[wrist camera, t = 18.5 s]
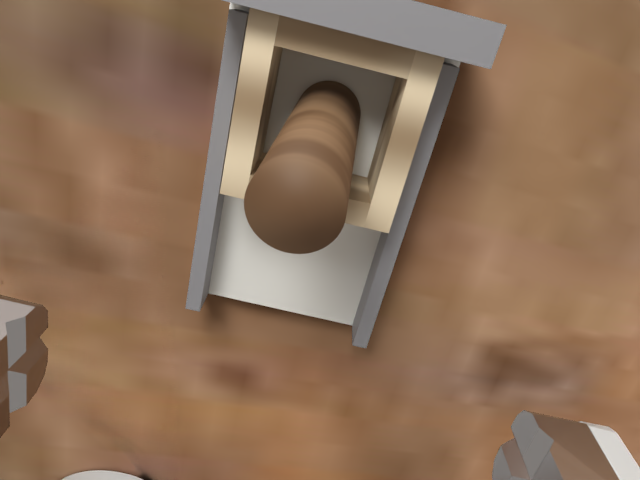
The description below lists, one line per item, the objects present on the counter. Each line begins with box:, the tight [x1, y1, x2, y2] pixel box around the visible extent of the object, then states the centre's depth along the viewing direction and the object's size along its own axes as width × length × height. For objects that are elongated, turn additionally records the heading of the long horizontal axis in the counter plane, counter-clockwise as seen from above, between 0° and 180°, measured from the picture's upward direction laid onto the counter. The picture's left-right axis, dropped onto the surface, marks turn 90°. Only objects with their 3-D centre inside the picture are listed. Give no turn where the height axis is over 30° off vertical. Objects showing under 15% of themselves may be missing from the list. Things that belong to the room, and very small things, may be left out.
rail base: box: [186, 0, 507, 348], centre depth 31 cm, size 22×14×8 cm, turn 167°
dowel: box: [244, 81, 361, 254], centre depth 26 cm, size 4×4×14 cm
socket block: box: [220, 8, 445, 233], centre depth 30 cm, size 10×10×5 cm
